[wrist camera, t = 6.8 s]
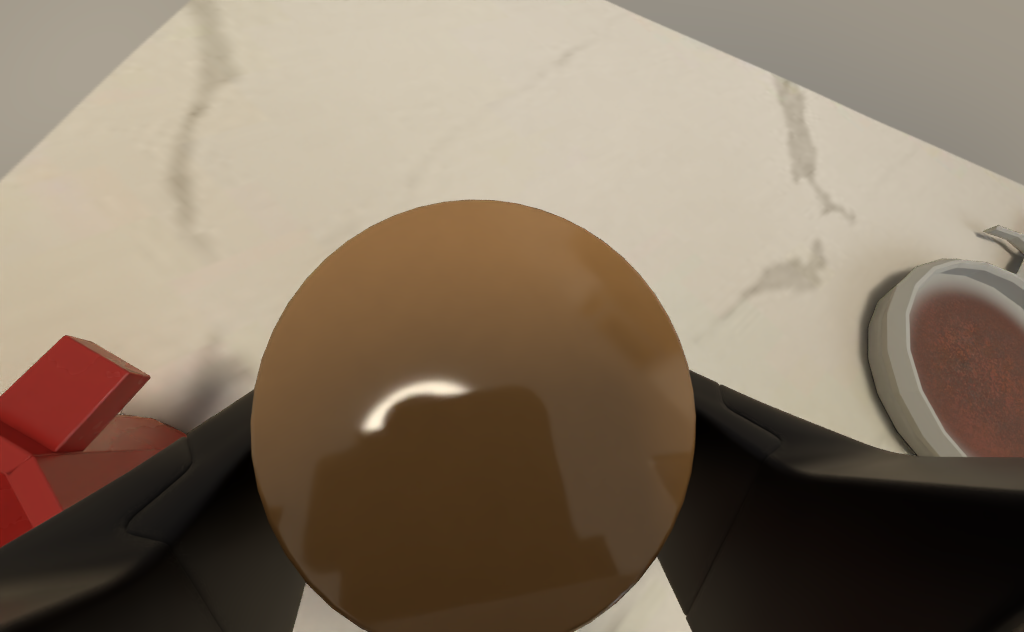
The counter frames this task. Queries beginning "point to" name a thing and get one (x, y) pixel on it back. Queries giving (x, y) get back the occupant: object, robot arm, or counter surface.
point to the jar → (473, 423)
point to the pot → (70, 433)
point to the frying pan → (954, 356)
